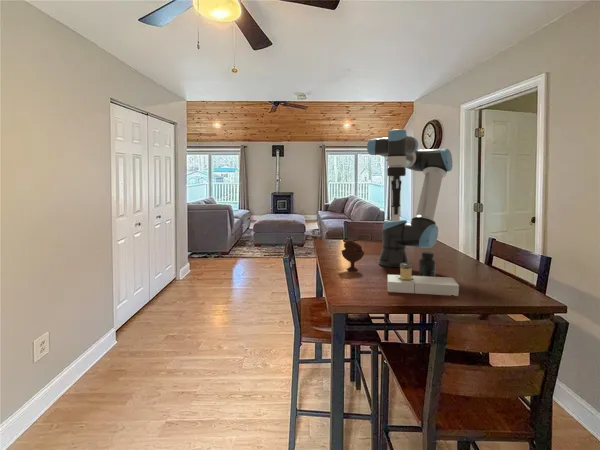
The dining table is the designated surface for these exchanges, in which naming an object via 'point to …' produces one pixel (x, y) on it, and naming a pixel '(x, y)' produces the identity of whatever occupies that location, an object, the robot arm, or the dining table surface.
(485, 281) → the dining table surface
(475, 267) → the dining table surface
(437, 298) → the dining table surface
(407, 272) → the gold grey cylinder
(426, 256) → the supplement bottle
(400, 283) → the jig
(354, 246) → the ice cream bowl
